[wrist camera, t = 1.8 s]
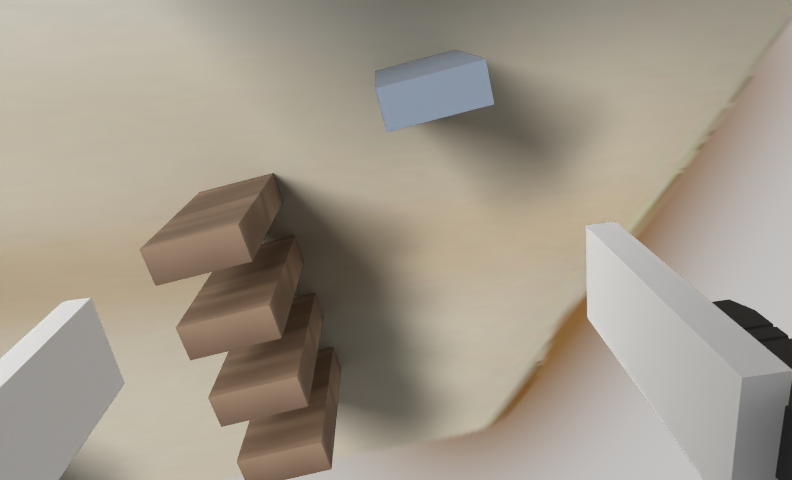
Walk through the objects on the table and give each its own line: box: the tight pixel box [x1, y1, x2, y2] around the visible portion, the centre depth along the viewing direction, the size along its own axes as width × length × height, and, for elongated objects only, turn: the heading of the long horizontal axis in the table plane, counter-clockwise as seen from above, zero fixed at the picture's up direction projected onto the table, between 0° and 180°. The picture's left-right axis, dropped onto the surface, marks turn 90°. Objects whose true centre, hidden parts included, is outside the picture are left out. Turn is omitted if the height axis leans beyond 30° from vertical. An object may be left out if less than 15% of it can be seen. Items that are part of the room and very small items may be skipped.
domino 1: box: [140, 173, 283, 286], centre depth 32 cm, size 2×5×10 cm, turn 104°
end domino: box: [237, 347, 341, 480], centre depth 37 cm, size 2×5×10 cm, turn 104°
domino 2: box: [176, 236, 304, 360], centre depth 34 cm, size 2×5×10 cm, turn 104°
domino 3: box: [208, 293, 324, 427], centre depth 35 cm, size 2×5×10 cm, turn 104°
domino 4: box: [375, 50, 494, 132], centre depth 30 cm, size 2×5×10 cm, turn 104°
